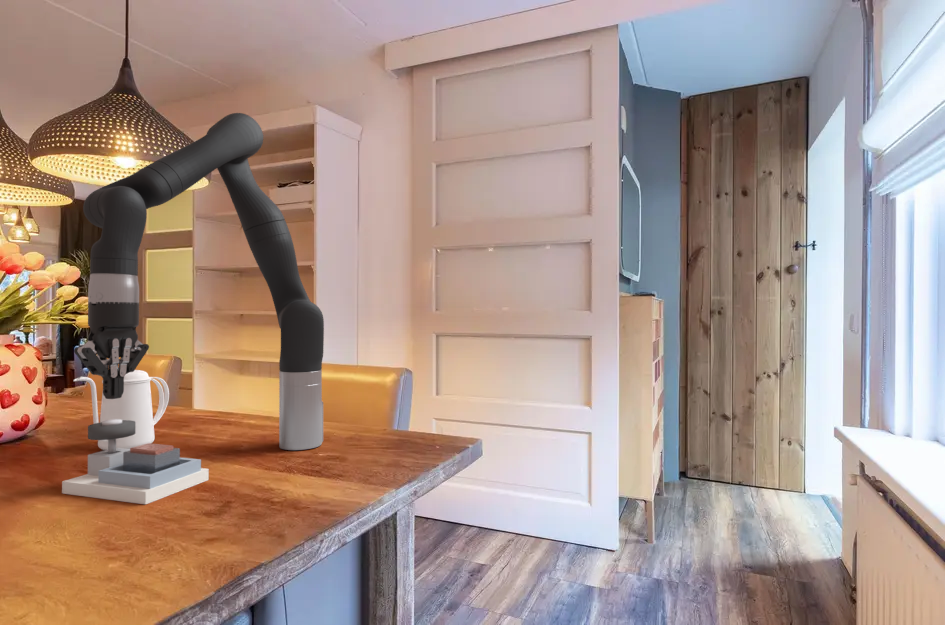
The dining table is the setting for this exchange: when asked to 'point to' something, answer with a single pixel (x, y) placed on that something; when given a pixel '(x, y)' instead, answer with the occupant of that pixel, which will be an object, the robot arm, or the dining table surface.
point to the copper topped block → (150, 458)
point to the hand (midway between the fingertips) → (113, 398)
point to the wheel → (111, 431)
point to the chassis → (132, 479)
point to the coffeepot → (131, 408)
